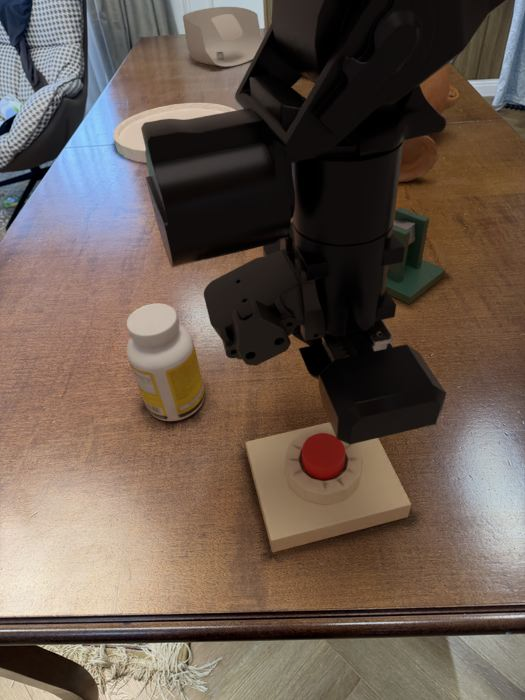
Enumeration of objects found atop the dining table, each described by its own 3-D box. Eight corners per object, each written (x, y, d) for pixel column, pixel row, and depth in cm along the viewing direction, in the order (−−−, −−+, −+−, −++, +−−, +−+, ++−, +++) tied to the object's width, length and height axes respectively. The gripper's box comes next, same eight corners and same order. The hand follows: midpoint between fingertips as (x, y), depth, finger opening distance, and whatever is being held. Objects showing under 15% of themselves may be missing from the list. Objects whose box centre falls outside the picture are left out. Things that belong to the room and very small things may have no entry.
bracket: (347, 274, 69) (350, 219, 63) (383, 249, 73) (389, 196, 67) (408, 304, 63) (418, 248, 58) (444, 276, 67) (456, 220, 61)
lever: (324, 230, 71) (322, 209, 69) (339, 222, 73) (338, 200, 71) (402, 252, 63) (402, 228, 61) (417, 241, 64) (418, 218, 62)
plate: (214, 168, 97) (212, 156, 95) (90, 158, 104) (87, 146, 103) (261, 116, 115) (260, 105, 114) (153, 111, 123) (151, 100, 121)
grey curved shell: (228, 47, 163) (224, 4, 155) (266, 57, 151) (264, 10, 143) (176, 62, 154) (169, 17, 146) (213, 73, 143) (206, 24, 135)
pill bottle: (214, 383, 56) (197, 301, 48) (193, 429, 51) (170, 346, 43) (160, 374, 57) (135, 293, 49) (135, 418, 53) (104, 337, 45)
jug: (465, 56, 98) (505, 133, 79) (395, 134, 110) (415, 217, 91) (389, -11, 90) (412, 57, 71) (323, 82, 102) (328, 160, 83)
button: (297, 450, 44) (296, 438, 43) (336, 440, 45) (336, 428, 44) (309, 484, 42) (309, 473, 41) (350, 474, 42) (351, 462, 41)
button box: (247, 455, 49) (243, 429, 46) (364, 427, 50) (367, 401, 47) (272, 553, 42) (269, 530, 39) (408, 517, 43) (414, 492, 40)
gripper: (184, 175, 34) (214, 341, 45) (235, 358, 21) (260, 533, 32) (339, 149, 36) (332, 317, 47) (479, 306, 22) (424, 491, 33)
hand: (334, 398), depth 40 cm, fingers closed
